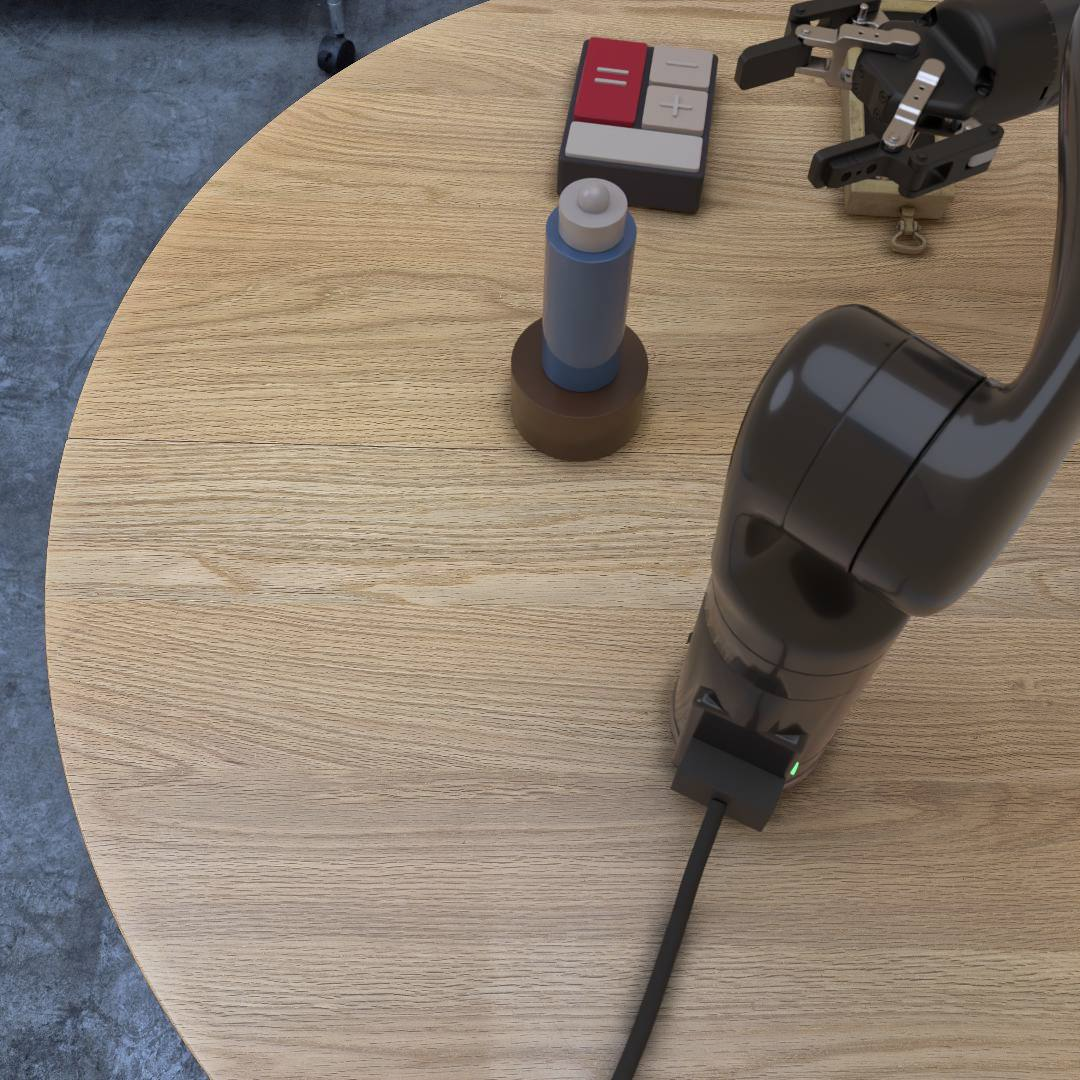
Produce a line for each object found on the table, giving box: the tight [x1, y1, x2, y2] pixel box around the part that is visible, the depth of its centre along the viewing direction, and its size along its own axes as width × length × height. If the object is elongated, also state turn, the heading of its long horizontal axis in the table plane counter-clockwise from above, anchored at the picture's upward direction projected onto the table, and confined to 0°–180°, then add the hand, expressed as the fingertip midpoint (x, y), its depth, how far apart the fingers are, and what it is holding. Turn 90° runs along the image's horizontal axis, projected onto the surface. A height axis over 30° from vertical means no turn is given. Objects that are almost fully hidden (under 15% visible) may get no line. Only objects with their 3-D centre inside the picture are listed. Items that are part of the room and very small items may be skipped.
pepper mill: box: [541, 178, 638, 392], centre depth 72 cm, size 5×5×15 cm
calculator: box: [556, 36, 719, 214], centre depth 94 cm, size 11×4×15 cm
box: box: [840, 0, 956, 255], centre depth 94 cm, size 8×22×5 cm, turn 178°
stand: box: [510, 316, 650, 462], centre depth 81 cm, size 9×9×5 cm
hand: (775, 120), depth 67 cm, fingers open, 8 cm apart
